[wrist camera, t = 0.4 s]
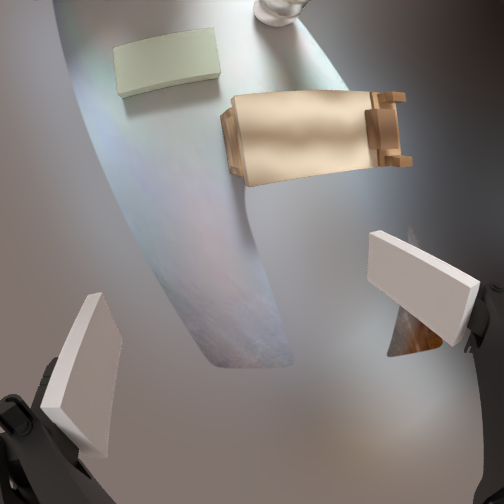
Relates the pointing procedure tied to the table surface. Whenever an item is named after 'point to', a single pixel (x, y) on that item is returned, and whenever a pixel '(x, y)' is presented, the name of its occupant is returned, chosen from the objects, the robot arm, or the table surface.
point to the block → (381, 129)
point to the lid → (301, 134)
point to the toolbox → (377, 102)
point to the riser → (166, 61)
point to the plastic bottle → (278, 11)
